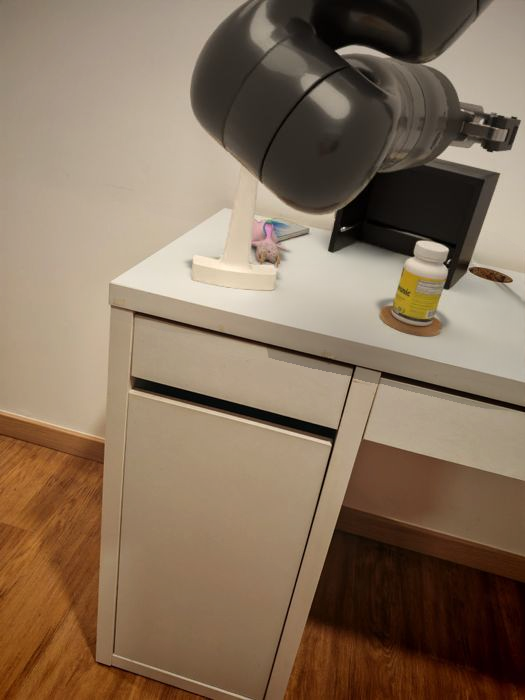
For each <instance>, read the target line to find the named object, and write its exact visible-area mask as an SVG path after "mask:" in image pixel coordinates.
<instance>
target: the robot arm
mask: <svg viewBox="0 0 525 700" xmlns="http://www.w3.org/2000/svg"><path fill="white" fill-rule="evenodd" d="M494 2H495V0H246V1H245V2H242V4H241V5H239V6H238V7H236V8H235V9H234V10H233V11H231V13H230V14H229V15H228V16H227V17H225V18H224V19H223V20H222V21H221V22H220V23H219V25H217V26H216V28H215V29H214V30H213V31H212V33H211V34H210V36H208V39H207V40H206V41H205V43H204V45H203V47H202V48H201V51H200V53H199V54H198V56H197V58H196V62H195V64H194V68H193V71H192V74H191V78H190V79H191V80H190V86H189V88H190V89H189V99H190V106H191V110H192V114H193V116H194V117H195V120H196V121H197V122H198V124H199V125H200V126H201V128H202V129H203V130H204V131H205V133H206V134H207V135H208V136H210V137H211V138H212V139H213V140H214V141H215V142H216V143H217V144H218V145H219V146H220V147H222V148H223V149H224V150H225V151H226V152H227V153H229V154H230V155H231V156H232V157H233V158H234V159H235V160H236V161H237V162H238V163H239V164H240V165H241V164H242V165H243V166H244V167H245V168H246V169H247V170H248V171H249V172H250V173H251V174H252V175H253V176H254V177H255V178H256V179H258V182H260V184H262V185H263V186H264V187H265V188H266V189H267V190H268V191H269V192H270V193H271V194H272V195H273V196H275V197H276V198H277V199H278V200H279V201H280V202H281V203H283V204H284V205H285V206H287V207H288V208H290V209H293V210H295V211H297V212H299V213H301V214H305V215H311V216H327V215H330V214H333V213H335V212H336V211H337V210H339V209H341V208H343V207H344V206H346V205H347V204H348V203H350V202H351V201H352V200H353V199H355V198H356V197H357V196H358V195H359V194H360V193H361V192H362V190H363V189H364V188H365V187H366V186H367V185H368V184H369V182H370V181H371V180H372V179H373V177H374V176H375V174H376V173H377V172H393V171H398V170H402V169H407V168H412V167H417V166H421V165H424V164H426V163H428V162H430V161H432V160H434V159H435V158H438V157H439V156H440V155H442V154H443V153H444V152H445V151H446V150H447V149H448V147H456V148H463V149H470V148H472V147H473V145H475V144H478V145H480V148H482V149H484V150H486V152H488V153H494V152H507V151H512V148H513V145H514V142H515V140H516V136H517V134H518V131H519V128H520V125H521V122H522V119H518V116H512V115H511V116H510V117H509V116H508V117H507V116H505V115H501V114H498V112H493V111H491V112H490V113H488V112H485V111H484V107H483V106H482V105H479V104H474V103H469V102H464V101H460V99H459V94H458V92H457V90H456V88H455V86H454V84H453V83H452V81H451V80H450V79H449V78H448V77H447V76H446V75H445V73H443V72H442V71H440V70H439V69H436V68H434V67H432V66H429V65H425V64H427V63H430V62H432V61H435V60H436V59H437V58H439V57H441V56H442V55H443V54H444V53H445V52H446V51H448V50H449V49H450V48H451V47H452V46H453V45H454V44H455V43H456V42H457V41H458V40H459V39H460V38H461V37H462V36H463V34H464V33H465V32H466V31H467V30H468V29H469V28H470V27H471V26H472V25H473V24H474V23H475V22H476V21H477V20H478V19H479V17H481V16H482V14H483V13H485V11H486V10H487V9H488V8H490V6H491V5H492V4H493V3H494ZM351 46H352V47H353V46H354V47H355V46H356V47H363V48H367V49H371V50H373V51H375V52H379V53H381V54H383V55H385V56H388V57H380V56H377V55H373V54H367V53H358V52H353V53H343V54H339V53H338V52H337V51H339V50H341V49H343V48H348V47H351ZM482 120H483V121H482ZM481 121H482V123H480V122H481Z"/></svg>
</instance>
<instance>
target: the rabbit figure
mask: <svg viewBox="0 0 525 700" xmlns="http://www.w3.org/2000/svg"><path fill="white" fill-rule="evenodd" d="M258 222H260V223H258ZM251 246H254V247H256V249H255V250H256V251H255V256H256V260H258V263H259V265H262V263H264V264H266V262H265V261H266V260H267V261H269V262H270V263H274V264H273V266H274V265H276V268H278V267H279V266H278V265H281V261H280V260H281V259H280V250H282V251H286V250H287V247H286V246H283V245H281V244H279V241H278V238H277V236H276V235H275V233H274V230H273V224H272V223H271V219H262V220H260V221H259V220H257V219H256V218H254V225H253V234H252V244H251ZM279 249H280V250H279Z"/></svg>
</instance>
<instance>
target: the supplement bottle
mask: <svg viewBox="0 0 525 700" xmlns="http://www.w3.org/2000/svg"><path fill="white" fill-rule="evenodd" d="M448 252H449V249H448V248H447V247H445V246H443V245H441V244H438V243H435V242H430V241H418V242H417V243H416V246H415V249H414V255H415V256H414V257H409V258H407V259H406V260H405V262H404V263H403V264H404V265H403V267H402V271H401V275H400V278H399V281H398V286H397V289H396V292H395V296H394V299H393V303H392V305H391V306H392V311H391V312H392V315H393V316H394V317H395V318H396V319H398V320H399V321H401V322H403V323H406V324H410V325H414V326H427V325H430V324H431V323H432V321H433V319H434V317H435V316H436V313H437V309H438V306H439V303H440V300H441V296H442V293H443V290H444V288H443V287H444V284H445V281H446V278H447V274H448V268H446V266H445V265H444V264H443V262H445V261H446V258H447V255H448Z"/></svg>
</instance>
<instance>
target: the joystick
mask: <svg viewBox="0 0 525 700" xmlns="http://www.w3.org/2000/svg"><path fill="white" fill-rule="evenodd" d="M258 186H259V180H258V179H256V178H255V177H254V176H253V175H252V174H251V173H250V172H249V171H248V170H247V169H246V168H245V167H244V166H243V165H242V164H241V163H240V171H239V176H238V181H237V186H236V190H235V196H234V199H233V200H234V201H233V206H232V210H231V215H230V221H229V225H228V231H227V236H226V241H225V245H224V251H223V253H221V254H220V255H219V258H212V257H206V256H203V255H199V254H198V255H197V254H195V255H193V258H192V266H191V275H190V276H191V277H190V279H191V280H192V281H195V282H200V283H203V284H207V285H211V286H212V285H213V286H218V287H225V288H231V289H239V290H250V291H274V290H275V286H276V281H277V276H278V273H277V267H276V266H274V265H272V264H261V265H260V264H254V263H251V251H252V245H251V244H252V234H253V225H254V219H255V215H256V205H257V197H258Z"/></svg>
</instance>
